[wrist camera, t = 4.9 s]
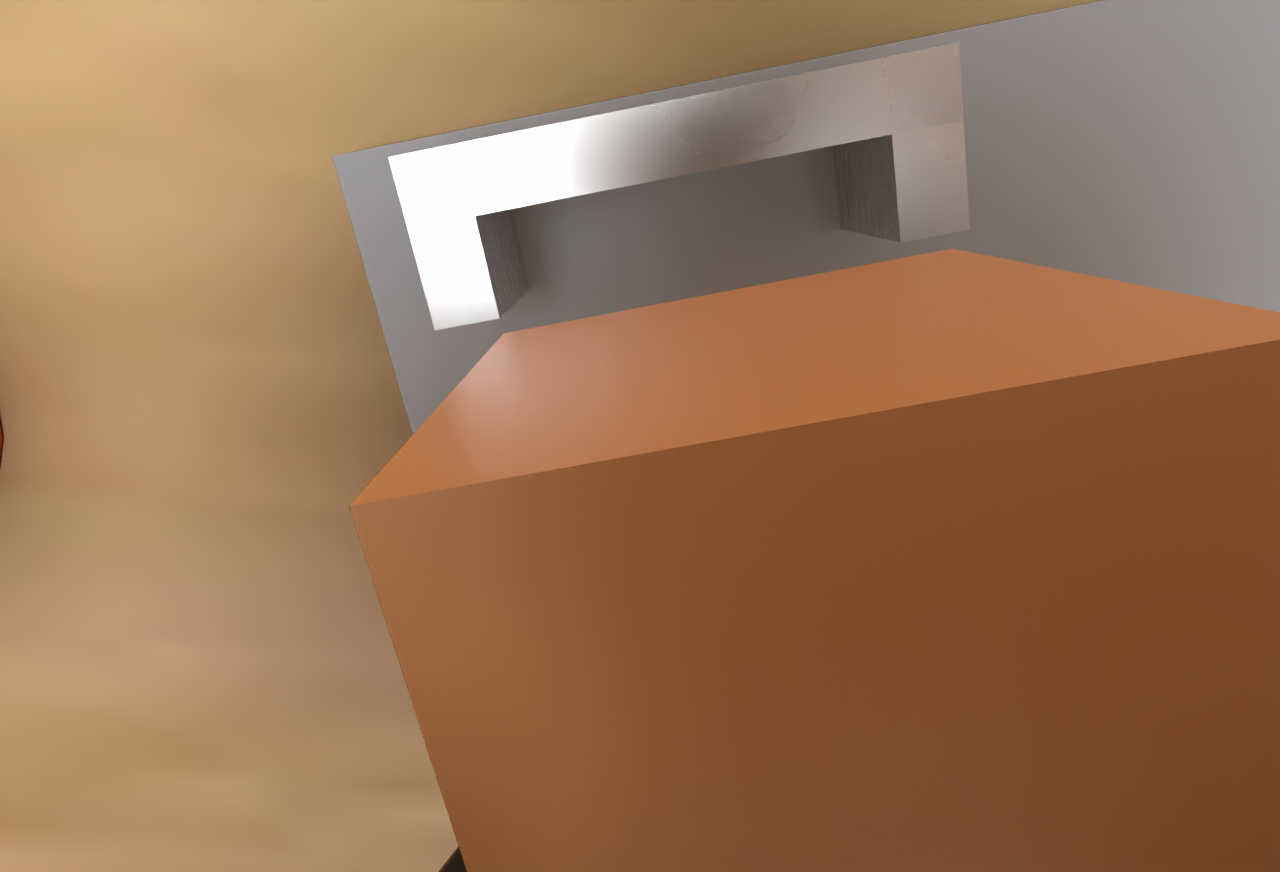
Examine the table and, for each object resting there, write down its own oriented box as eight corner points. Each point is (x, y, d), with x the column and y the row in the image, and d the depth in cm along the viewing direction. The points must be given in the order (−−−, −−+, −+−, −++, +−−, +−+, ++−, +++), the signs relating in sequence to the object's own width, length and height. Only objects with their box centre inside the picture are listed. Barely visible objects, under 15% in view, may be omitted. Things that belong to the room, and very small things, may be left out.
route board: (1241, 820, 21) (1277, 858, 19) (568, 919, 22) (564, 961, 20) (1292, -32, 15) (1347, -50, 13) (354, 157, 15) (332, 156, 14)
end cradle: (894, 219, 15) (969, 229, 11) (479, 297, 15) (434, 330, 12) (881, 76, 14) (958, 42, 11) (445, 163, 14) (387, 157, 11)
